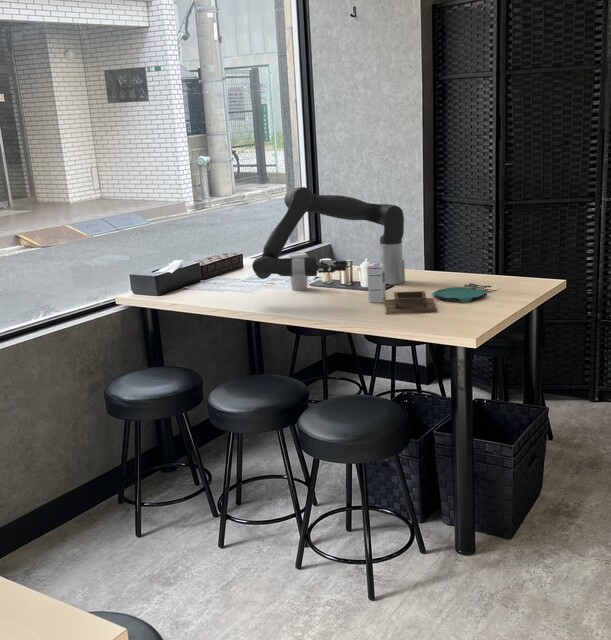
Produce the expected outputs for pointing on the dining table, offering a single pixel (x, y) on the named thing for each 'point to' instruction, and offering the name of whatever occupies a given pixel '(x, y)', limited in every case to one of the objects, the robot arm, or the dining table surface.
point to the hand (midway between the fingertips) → (346, 265)
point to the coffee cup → (296, 281)
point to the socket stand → (410, 303)
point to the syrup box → (376, 282)
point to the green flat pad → (461, 293)
